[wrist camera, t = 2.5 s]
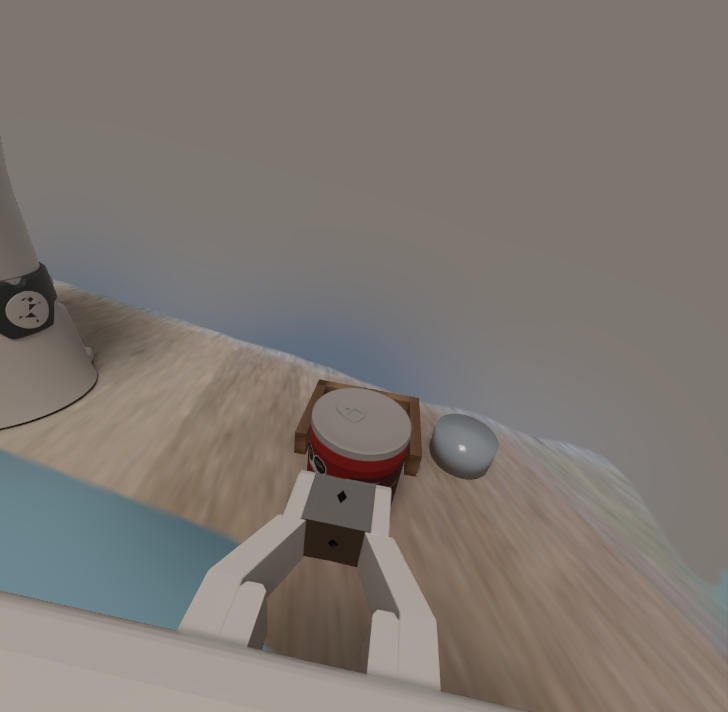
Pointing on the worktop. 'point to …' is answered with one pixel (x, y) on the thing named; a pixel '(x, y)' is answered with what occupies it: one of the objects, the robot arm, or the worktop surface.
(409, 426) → the canned food
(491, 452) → the grey rounded cylinder
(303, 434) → the bay
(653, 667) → the worktop surface
